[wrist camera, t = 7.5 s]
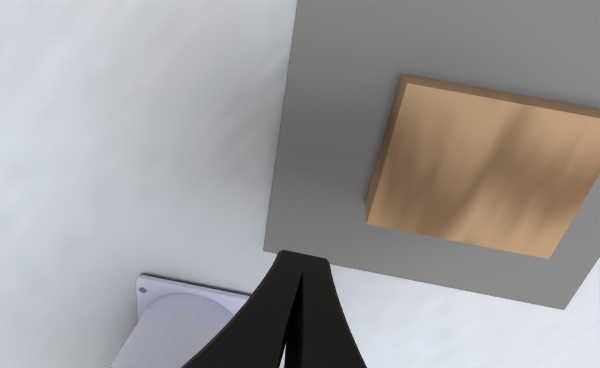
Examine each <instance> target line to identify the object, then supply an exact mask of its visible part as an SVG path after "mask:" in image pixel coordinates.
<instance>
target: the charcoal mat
mask: <svg viewBox="0 0 600 368" xmlns="http://www.w3.org/2000/svg"><path fill="white" fill-rule="evenodd" d="M401 73H404V74H409V75H415V76H420V77H426V78H431V79H437V80H442V81H448V82H453V83H459V84H464V85H469V86H475V87H480V88H486V89H491V90H497V91H502V92H508V93H513V94H519V95H524V96H530V97H535V98H541V99H546V100H552V101H557V102H562V103H568V104H573V105H579V106H584V107H590V108H595V109H600V0H298V3H297V10H296V18H295V25H294V32H293V39H292V47H291V54H290V61H289V68H288V75H287V83H286V90H285V97H284V104H283V112H282V119H281V126H280V133H279V141H278V148H277V155H276V162H275V169H274V177H273V184H272V191H271V198H270V206H269V213H268V220H267V227H266V234H265V242H264V249H263V251H267V252H272V253H277V254H278V252H279V251H281V250H288V251H293V252H297V253H302V254H307V255H312V256H316V257H321V258H326V259H327V260H328V261H329V263H330V264H333V265H338V266H343V267H348V268H353V269H358V270H363V271H368V272H374V273H379V274H384V275H389V276H394V277H399V278H404V279H409V280H414V281H419V282H424V283H429V284H435V285H440V286H445V287H450V288H455V289H460V290H465V291H470V292H475V293H480V294H485V295H490V296H496V297H501V298H506V299H511V300H516V301H521V302H526V303H531V304H536V305H541V306H546V307H551V308H557V309H562V310H564V309H565V308H566V306H567V305H568V303H569V302H570V300H571V299H572V297H573V296H574V295H575V293H576V292H577V290H578V289H579V287H580V286H581V284H582V283H583V281H584V280H585V278H586V277H587V275H588V274H589V272H590V271H591V269H592V268H593V266H594V265H595V263H596V262H597V260H598V259H599V257H600V174H599V176H598V178H597V179H596V181H595V183H594V184H593V186H592V188H591V189H590V191H589V193H588V194H587V196H586V198H585V199H584V201H583V203H582V204H581V206H580V208H579V209H578V211H577V213H576V215H575V216H574V218H573V220H572V221H571V223H570V225H569V226H568V228H567V230H566V231H565V233H564V235H563V236H562V238H561V240H560V241H559V243H558V245H557V247H556V248H555V250H554V252H553V253H552V255H551V257H550V258H549V259H545V258H540V257H535V256H530V255H525V254H520V253H514V252H509V251H504V250H499V249H494V248H489V247H483V246H478V245H473V244H468V243H463V242H458V241H452V240H447V239H442V238H437V237H432V236H427V235H421V234H416V233H411V232H406V231H401V230H396V229H390V228H385V227H380V226H375V225H370V224H367V220H366V207H365V202H366V199H367V195H368V192H369V188H370V184H371V181H372V177H373V174H374V170H375V166H376V163H377V159H378V156H379V152H380V148H381V145H382V141H383V138H384V134H385V130H386V127H387V123H388V120H389V116H390V112H391V109H392V105H393V102H394V98H395V94H396V91H397V87H398V84H399V80H400V76H401Z"/></svg>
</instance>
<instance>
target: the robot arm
mask: <svg viewBox="0 0 600 368" xmlns="http://www.w3.org/2000/svg"><path fill="white" fill-rule="evenodd" d="M136 294H137V310H138V323H137V324H136V326H135V328H134V329H133V331H132V333H131V334H130V336H129V337H128V339H127V341H126V342H125V344H124V345H123V347H122V349H121V350H120V352H119V353H118V355H117V357H116V358H115V360H114V361H113V363H112V365H111V366H110V368H279V366H280V363H281V359H282V356H283V352H284V348H285V345H286V351H285V364H284V368H367V367H366V365H365V363H364V360H363V358H362V356H361V354H360V352H359V350H358V347H357V345H356V343H355V341H354V338H353V336H352V334H351V331H350V329H349V326H348V324H347V321H346V318H345V316H344V313H343V310H342V307H341V305H340V302H339V299H338V295H337V292H336V289H335V285H334V282H333V278H332V274H331V269H330V263H329V261H328V260H327V259H326V258H321V257H316V256H312V255H307V254H302V253H297V252H293V251H288V250H281V251H279V252H278V255H277V257H276V259H275V261H274V263H273V265H272V266H271V268H270V270H269V271H268V273H267V274H266V276H265V277H264V279H263V280H262V282H261V283H260V284H259V286H258V287H257V288H256V290H255V291H254V292H253V294H252V295H251V296H246V295H241V294H236V293H231V292H226V291H221V290H216V289H211V288H206V287H201V286H196V285H191V284H186V283H181V282H176V281H171V280H166V279H161V278H156V277H151V276H146V275H141V276H139V277H138V279H137V280H136Z"/></svg>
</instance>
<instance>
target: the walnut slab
mask: <svg viewBox="0 0 600 368" xmlns="http://www.w3.org/2000/svg"><path fill="white" fill-rule="evenodd" d="M599 174H600V109H595V108H590V107H584V106H579V105H573V104H568V103H562V102H557V101H552V100H546V99H541V98H535V97H530V96H524V95H519V94H513V93H508V92H502V91H497V90H491V89H486V88H480V87H475V86H469V85H464V84H459V83H453V82H448V81H442V80H437V79H431V78H426V77H420V76H415V75H409V74H404V73H401V76H400V80H399V84H398V87H397V91H396V94H395V98H394V102H393V105H392V109H391V112H390V116H389V120H388V123H387V127H386V130H385V134H384V138H383V141H382V145H381V148H380V152H379V156H378V159H377V163H376V166H375V170H374V174H373V177H372V181H371V184H370V188H369V192H368V195H367V199H366V202H365V207H366V220H367V224H370V225H375V226H380V227H385V228H390V229H396V230H401V231H406V232H411V233H416V234H421V235H427V236H432V237H437V238H442V239H447V240H452V241H458V242H463V243H468V244H473V245H478V246H483V247H489V248H494V249H499V250H504V251H509V252H514V253H520V254H525V255H530V256H535V257H540V258H545V259H549V258H550V257H551V255H552V253H553V252H554V250H555V248H556V247H557V245H558V243H559V241H560V240H561V238H562V236H563V235H564V233H565V231H566V230H567V228H568V226H569V225H570V223H571V221H572V220H573V218H574V216H575V215H576V213H577V211H578V209H579V208H580V206H581V204H582V203H583V201H584V199H585V198H586V196H587V194H588V193H589V191H590V189H591V188H592V186H593V184H594V183H595V181H596V179H597V178H598V176H599Z"/></svg>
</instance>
